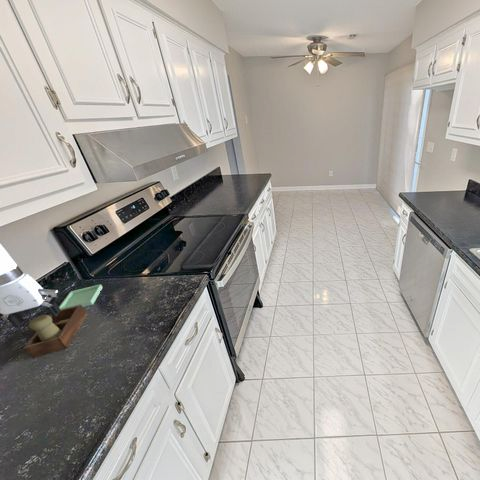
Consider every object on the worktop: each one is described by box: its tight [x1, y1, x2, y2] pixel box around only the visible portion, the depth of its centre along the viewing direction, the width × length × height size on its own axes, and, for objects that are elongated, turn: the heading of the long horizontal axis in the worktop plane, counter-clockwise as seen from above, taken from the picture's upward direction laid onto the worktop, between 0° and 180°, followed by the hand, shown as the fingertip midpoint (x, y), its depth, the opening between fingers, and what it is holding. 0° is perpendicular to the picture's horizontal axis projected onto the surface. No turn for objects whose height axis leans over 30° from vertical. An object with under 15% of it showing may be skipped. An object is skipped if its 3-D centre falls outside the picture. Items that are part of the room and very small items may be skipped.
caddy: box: [24, 305, 88, 359], centre depth 90 cm, size 9×17×5 cm, turn 22°
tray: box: [58, 283, 103, 310], centre depth 107 cm, size 11×12×2 cm
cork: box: [28, 314, 61, 342], centre depth 85 cm, size 6×6×11 cm
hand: (39, 319), depth 82 cm, fingers open, 9 cm apart
